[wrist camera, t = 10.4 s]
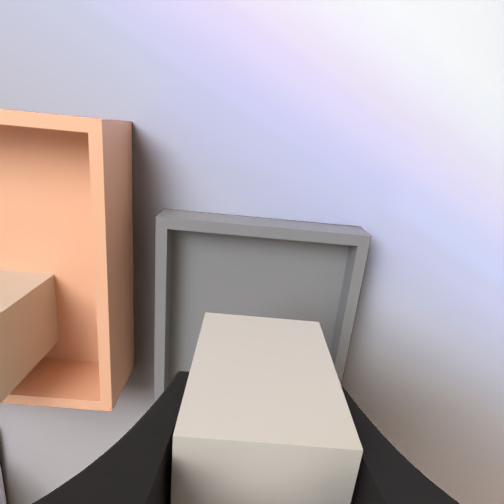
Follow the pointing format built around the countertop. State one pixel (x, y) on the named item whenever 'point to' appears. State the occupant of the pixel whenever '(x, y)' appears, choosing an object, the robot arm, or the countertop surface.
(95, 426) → the countertop surface
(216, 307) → the stone tray
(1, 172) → the bin
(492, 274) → the countertop surface
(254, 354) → the stone right
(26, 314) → the block
